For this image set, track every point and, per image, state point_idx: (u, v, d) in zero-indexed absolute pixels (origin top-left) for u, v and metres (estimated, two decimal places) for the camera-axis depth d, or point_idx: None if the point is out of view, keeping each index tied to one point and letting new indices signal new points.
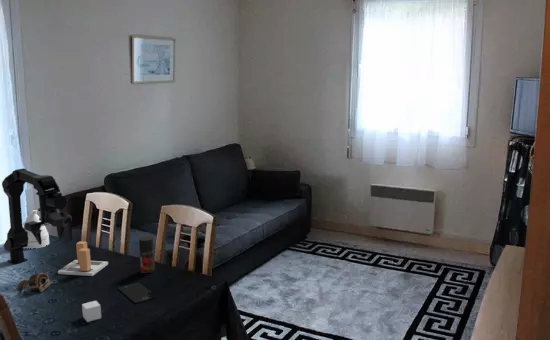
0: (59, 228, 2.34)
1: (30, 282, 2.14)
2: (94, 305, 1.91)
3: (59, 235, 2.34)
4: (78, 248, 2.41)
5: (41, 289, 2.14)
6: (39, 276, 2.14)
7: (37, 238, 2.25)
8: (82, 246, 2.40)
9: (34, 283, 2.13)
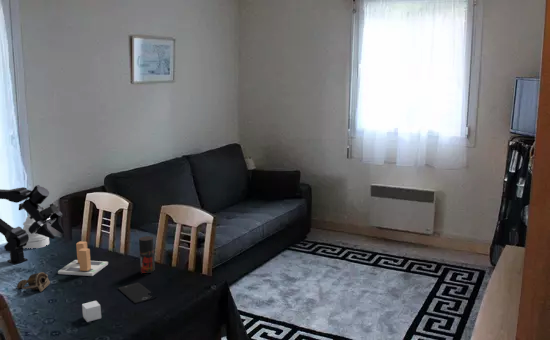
0: (57, 225, 2.47)
1: (29, 282, 2.15)
2: (94, 305, 1.91)
3: (61, 230, 2.46)
4: (78, 248, 2.41)
5: (41, 288, 2.15)
6: (38, 276, 2.15)
7: (48, 234, 2.38)
8: (82, 246, 2.40)
9: (33, 283, 2.14)
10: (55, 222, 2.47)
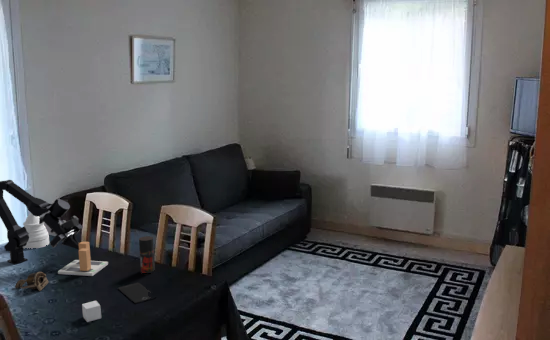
0: None
1: (28, 281, 2.15)
2: (93, 305, 1.91)
3: None
4: (80, 248, 2.40)
5: (39, 288, 2.15)
6: (37, 275, 2.16)
7: (74, 244, 2.41)
8: (84, 246, 2.40)
9: (32, 282, 2.14)
10: None
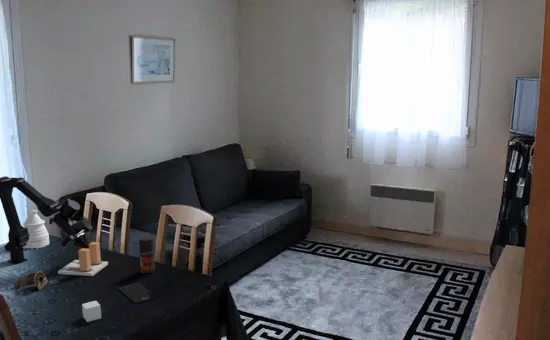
0: None
1: (28, 281, 2.16)
2: (94, 305, 1.91)
3: None
4: (91, 249, 2.40)
5: (39, 287, 2.16)
6: (37, 275, 2.16)
7: (84, 245, 2.40)
8: (95, 247, 2.39)
9: (32, 282, 2.15)
10: None
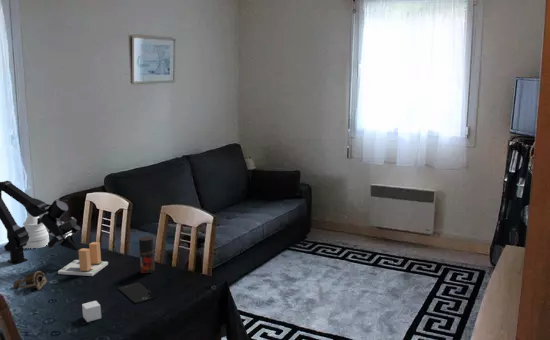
0: None
1: (27, 281, 2.16)
2: (94, 305, 1.91)
3: None
4: (91, 249, 2.40)
5: (38, 287, 2.16)
6: (36, 274, 2.16)
7: (71, 246, 2.41)
8: (95, 247, 2.39)
9: (31, 281, 2.15)
10: None
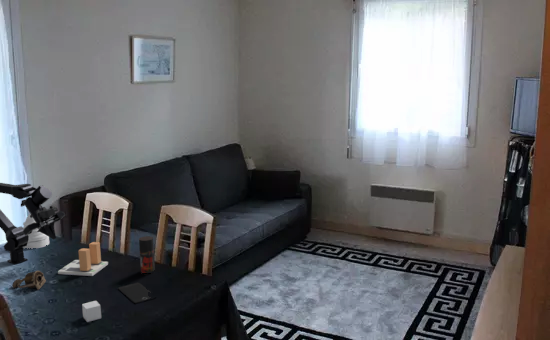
0: None
1: (26, 280, 2.16)
2: (94, 305, 1.91)
3: None
4: (91, 249, 2.40)
5: (38, 287, 2.17)
6: (35, 274, 2.17)
7: (49, 234, 2.39)
8: (95, 247, 2.39)
9: (31, 281, 2.16)
10: None
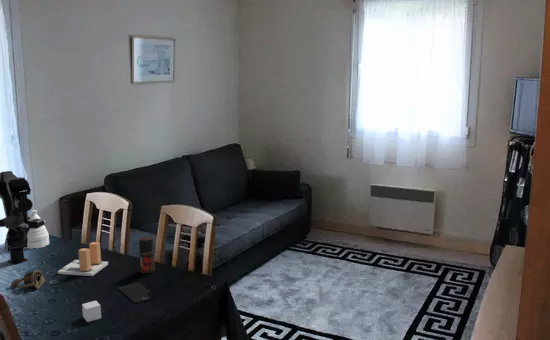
0: None
1: (25, 280, 2.16)
2: (94, 305, 1.91)
3: None
4: (91, 249, 2.40)
5: (37, 286, 2.17)
6: (34, 274, 2.17)
7: None
8: (95, 247, 2.39)
9: (30, 281, 2.16)
10: None
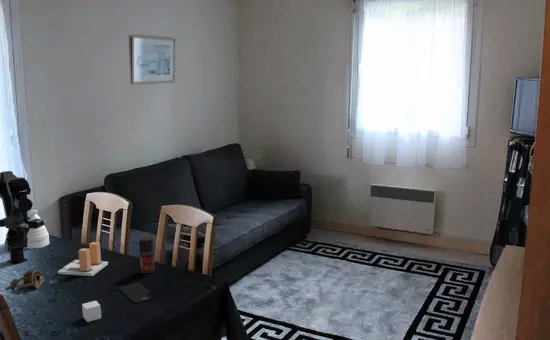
0: None
1: (25, 280, 2.17)
2: (94, 305, 1.91)
3: None
4: (91, 249, 2.40)
5: (37, 286, 2.18)
6: (34, 273, 2.18)
7: None
8: (95, 247, 2.39)
9: (29, 280, 2.16)
10: None
